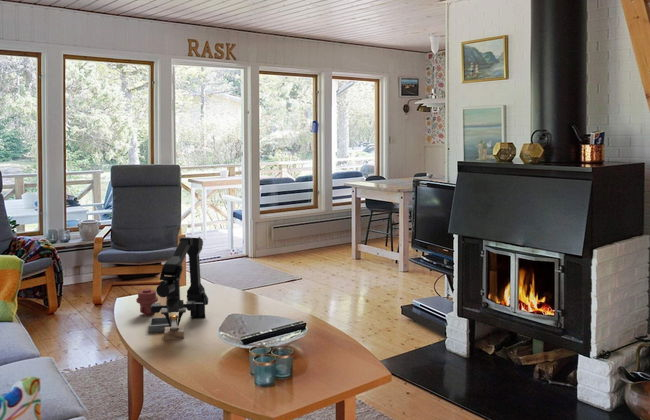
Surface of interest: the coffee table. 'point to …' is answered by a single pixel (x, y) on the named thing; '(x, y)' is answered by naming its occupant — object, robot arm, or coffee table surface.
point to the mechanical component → (146, 301)
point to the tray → (158, 324)
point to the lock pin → (174, 322)
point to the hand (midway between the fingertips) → (174, 326)
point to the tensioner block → (174, 333)
